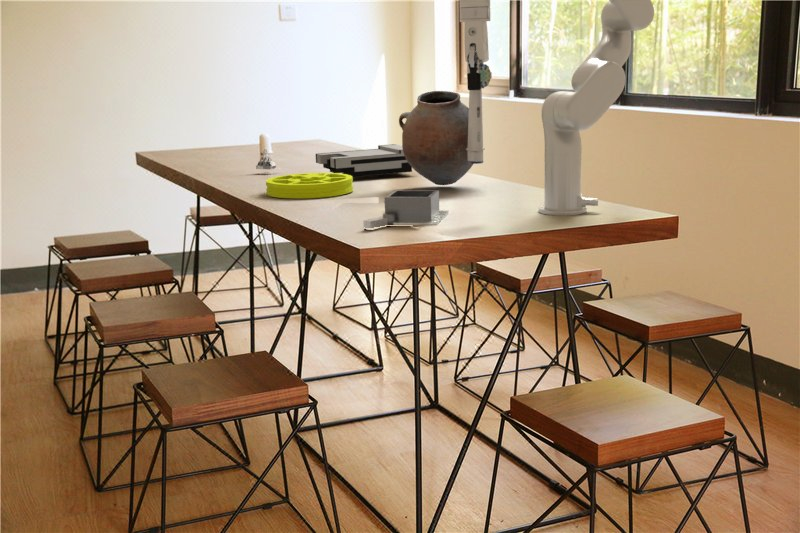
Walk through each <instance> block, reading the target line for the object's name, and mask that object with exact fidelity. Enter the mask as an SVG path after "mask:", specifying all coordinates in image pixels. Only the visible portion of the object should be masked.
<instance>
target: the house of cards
mask: <svg viewBox="0 0 800 533" xmlns="http://www.w3.org/2000/svg"><path fill="white" fill-rule="evenodd" d="M262 153H263V154H262V155H263V156H262V157H260V160H259V161H258V162H257V165H255V168H256V170H271V171H272V170H275V169H278V170H279V169H281V167H278V168H277V164H276V163H275V161H274V160H273V159H272V157H270V156H269V151H268V149H267V148H264V149H263V152H262Z"/></svg>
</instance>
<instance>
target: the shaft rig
mask: <svg viewBox="0 0 800 533" xmlns="http://www.w3.org/2000/svg"><path fill="white" fill-rule="evenodd" d="M448 215H449V210H440V190H438V189H437V190H436V189H435V190H434V189H431V190H429V189H427V190H426V189H425V190H424V189H423V190H422V189H420V190H419V189H414V190H413V189H408V190H407V189H396V190H395V189H394V190H393V191H391V192H390V193H389V194H387V195H386V196H384V213H382V216H377V217H373V218H370V219H369V218H368V219H365V220H363V228H364V227H365V228H374V227H380V226H385V225H414V226H438V225H439V224H440V223H441V222H442V221H443V220H444V219H445V218H446V217H447V216H448Z"/></svg>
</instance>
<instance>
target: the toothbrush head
mask: <svg viewBox="0 0 800 533" xmlns="http://www.w3.org/2000/svg"><path fill="white" fill-rule="evenodd" d="M479 73H481V89H480V90H468V91H469V94H468V96H469V97H468V108H469V120H468V148H467V149H466V150H468V163H470V164H473V165H476V164H477V165H479V164H483V163H484V150H485V148H484V135H483V134H484V133H483V132H484V129H483V98H482V97H483V92H482V90H483V89H484V88H486V87H487V86H489V85H490V81H491V79H492V75H493V74H492V72H491V70H490V66H489V65H487V64H486V63H485V64H484V62H483V63H480V69H479ZM467 74H468V72H466V75H467ZM483 87H484V88H483Z"/></svg>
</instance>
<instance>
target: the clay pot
mask: <svg viewBox="0 0 800 533" xmlns="http://www.w3.org/2000/svg"><path fill="white" fill-rule="evenodd" d="M416 99H417V101H416V103H417V105H415V107H414V108H412V110H410V111H405V112H402V113H401V114H400V116H399V118H398V124H399V127H400V128H401V129H402V133H401V134H402V135H401V139H402V140H401V143H402V144H401V146H402V148H403V153H404V156H405V158H406V160H407V161H408V163H409V164H410V165H411V167H412V170H414V171H415V172H416V173H417V174H418V175H420V176H422V177H423V178H425V179H426V180H428V181H430V183H433V184H435V185H437V186H449V185H453V184H455V183H457V182H458V181H459V180H460V179H462V178H463V177H464V176H465V175H466V174H467V173H468V172H469V171H470V170H471V169H472V167H473V166H474V164H470V163H468V150H466V149H467V148H468V120H469V106H467V105H465V104H464V103H463V102H462V101H461V95H460V93H458V92H455V91H453V92H452V91H446V90H444V91H443V90H433V91H427V92H424V93H421V94H419V95H418V96H417V98H416ZM404 119H405V121H403V120H404Z"/></svg>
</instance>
